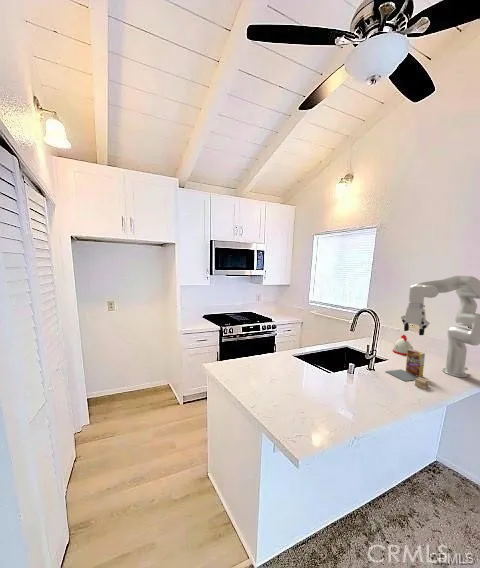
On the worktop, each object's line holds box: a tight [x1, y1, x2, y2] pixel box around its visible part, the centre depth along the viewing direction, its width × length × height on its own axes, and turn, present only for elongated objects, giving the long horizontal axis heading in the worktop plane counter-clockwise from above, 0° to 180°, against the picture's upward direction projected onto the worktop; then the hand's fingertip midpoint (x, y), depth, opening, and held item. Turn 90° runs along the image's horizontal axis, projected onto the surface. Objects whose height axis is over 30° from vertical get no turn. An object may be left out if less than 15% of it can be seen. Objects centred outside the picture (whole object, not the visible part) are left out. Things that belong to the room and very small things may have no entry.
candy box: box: [405, 349, 426, 378], centre depth 167 cm, size 9×4×15 cm, turn 23°
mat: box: [385, 368, 419, 382], centre depth 165 cm, size 14×14×1 cm
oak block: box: [414, 377, 430, 390], centre depth 150 cm, size 5×5×4 cm
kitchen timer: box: [392, 334, 414, 357], centre depth 209 cm, size 14×14×15 cm
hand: (413, 332), depth 158 cm, fingers open, 9 cm apart
